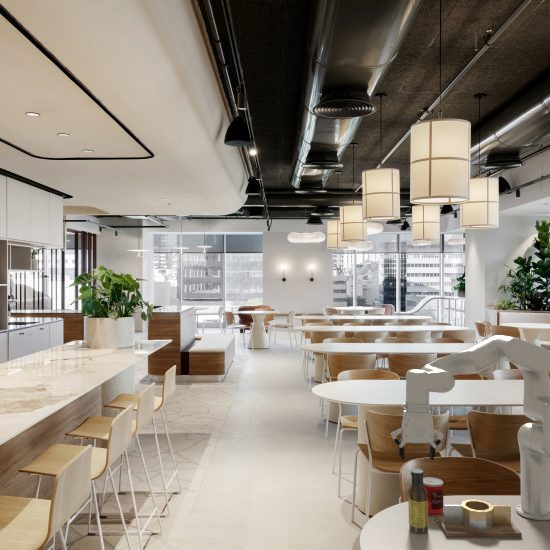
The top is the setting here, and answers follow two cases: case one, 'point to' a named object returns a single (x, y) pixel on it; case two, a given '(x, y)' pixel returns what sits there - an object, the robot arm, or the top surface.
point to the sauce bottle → (418, 503)
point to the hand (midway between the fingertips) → (417, 458)
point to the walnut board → (464, 531)
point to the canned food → (434, 495)
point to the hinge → (477, 514)
